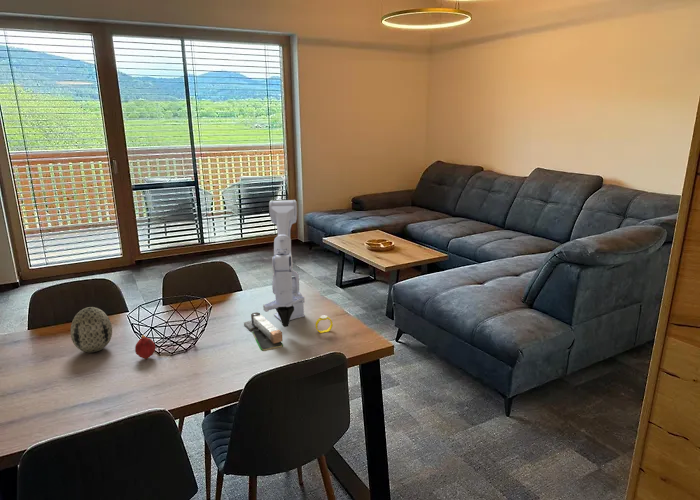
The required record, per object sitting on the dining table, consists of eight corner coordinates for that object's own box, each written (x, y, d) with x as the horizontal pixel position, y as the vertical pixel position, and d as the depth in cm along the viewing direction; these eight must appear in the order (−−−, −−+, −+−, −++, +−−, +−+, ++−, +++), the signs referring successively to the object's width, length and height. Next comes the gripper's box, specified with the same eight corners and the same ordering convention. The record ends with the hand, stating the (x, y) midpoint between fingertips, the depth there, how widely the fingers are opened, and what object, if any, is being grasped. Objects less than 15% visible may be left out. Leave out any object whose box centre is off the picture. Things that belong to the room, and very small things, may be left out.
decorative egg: (96, 339, 160) (89, 299, 156) (123, 345, 157) (116, 303, 152) (65, 356, 150) (57, 312, 145) (94, 362, 146) (86, 317, 142)
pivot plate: (262, 320, 175) (261, 318, 174) (268, 326, 170) (268, 323, 170) (244, 325, 171) (243, 322, 171) (250, 331, 166) (250, 328, 166)
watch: (317, 335, 163) (316, 320, 161) (315, 332, 166) (313, 317, 164) (334, 331, 165) (332, 316, 164) (331, 328, 168) (329, 313, 166)
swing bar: (258, 319, 172) (257, 311, 171) (282, 341, 156) (282, 332, 155) (250, 321, 170) (249, 313, 170) (273, 343, 154) (273, 334, 153)
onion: (160, 355, 150) (157, 332, 147) (147, 364, 144) (144, 341, 142) (145, 352, 151) (142, 330, 149) (132, 361, 146) (129, 338, 144)
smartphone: (261, 349, 152) (251, 330, 165) (261, 352, 152) (251, 333, 166) (283, 345, 155) (272, 326, 168) (284, 347, 155) (272, 329, 168)
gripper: (268, 297, 151) (270, 335, 155) (308, 288, 159) (309, 324, 162) (259, 290, 157) (262, 327, 160) (298, 282, 164) (299, 317, 168)
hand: (285, 325), depth 162 cm, fingers closed
